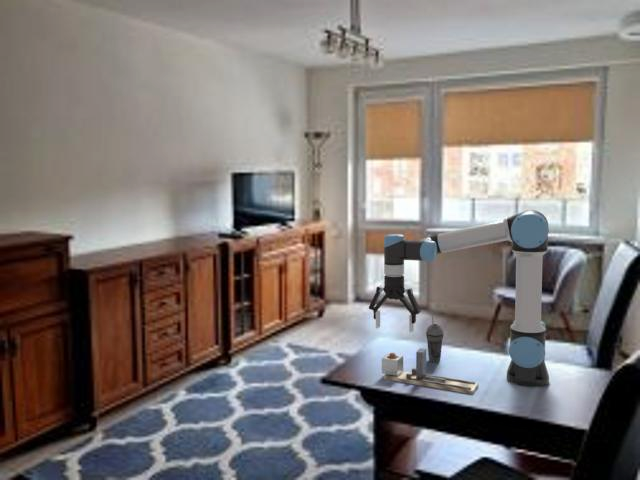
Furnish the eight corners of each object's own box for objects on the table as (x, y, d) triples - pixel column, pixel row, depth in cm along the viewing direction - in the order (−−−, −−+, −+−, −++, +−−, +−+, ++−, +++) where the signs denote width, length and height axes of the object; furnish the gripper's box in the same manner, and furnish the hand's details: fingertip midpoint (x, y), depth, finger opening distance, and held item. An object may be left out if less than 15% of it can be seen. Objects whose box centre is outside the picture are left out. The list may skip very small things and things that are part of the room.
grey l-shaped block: (447, 379, 216) (447, 352, 214) (443, 383, 212) (444, 355, 210) (420, 374, 221) (420, 348, 219) (416, 378, 217) (416, 351, 215)
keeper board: (478, 386, 212) (478, 362, 211) (472, 394, 205) (473, 369, 204) (391, 372, 228) (391, 349, 227) (383, 379, 221) (383, 355, 220)
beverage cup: (443, 364, 237) (444, 316, 235) (425, 363, 239) (425, 316, 236) (443, 358, 244) (443, 312, 242) (425, 357, 246) (426, 311, 243)
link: (403, 370, 225) (403, 355, 224) (397, 375, 219) (397, 360, 219) (387, 368, 228) (387, 353, 227) (381, 373, 222) (381, 358, 222)
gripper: (429, 275, 216) (428, 330, 219) (367, 271, 228) (368, 323, 231) (422, 279, 210) (422, 335, 212) (360, 274, 222) (360, 328, 224)
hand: (394, 329), depth 221 cm, fingers open, 13 cm apart
